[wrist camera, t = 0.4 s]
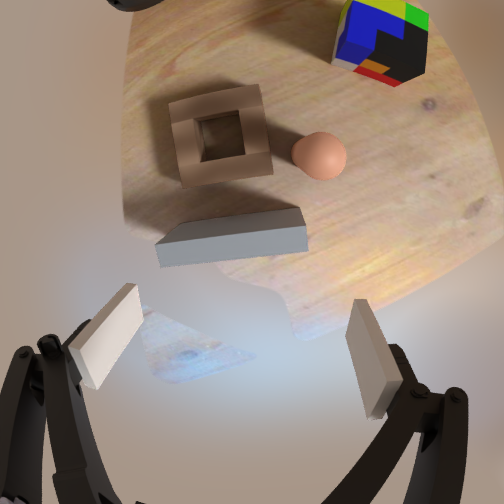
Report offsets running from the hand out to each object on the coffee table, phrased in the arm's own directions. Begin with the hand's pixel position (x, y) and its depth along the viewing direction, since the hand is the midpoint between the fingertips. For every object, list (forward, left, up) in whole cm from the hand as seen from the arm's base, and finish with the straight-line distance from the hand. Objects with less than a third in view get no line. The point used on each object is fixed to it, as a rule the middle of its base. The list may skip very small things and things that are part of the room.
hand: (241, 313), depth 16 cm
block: (-12, -4, -26) cm, 29 cm away
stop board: (+1, -4, -26) cm, 26 cm away
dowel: (-8, +7, -26) cm, 28 cm away
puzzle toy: (-24, +19, -26) cm, 40 cm away
